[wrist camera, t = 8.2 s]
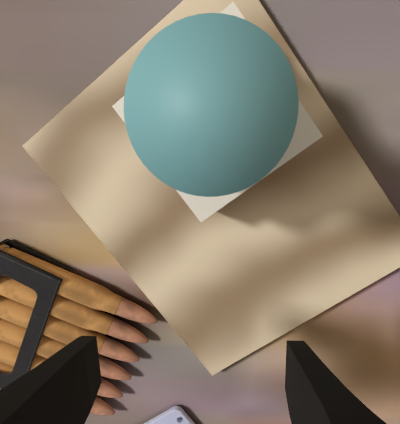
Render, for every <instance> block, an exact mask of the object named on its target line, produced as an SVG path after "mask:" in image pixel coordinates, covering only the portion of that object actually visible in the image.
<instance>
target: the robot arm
mask: <svg viewBox="0 0 400 424" xmlns="http://www.w3.org/2000/svg"><path fill="white" fill-rule="evenodd" d="M101 382H102V380H101V371H100V363H99V355H98V346H97V338H96V336H80V337H78V338H76V339H75V340H73V341H72V342H70V343H69V344H68V345H66V346H65V347H63V348H62V349H60V350H59V351H58V352H56V353H55V354H53V355H52V356H51V357H49V358H48V359H46V360H45V361H43V362H42V363H41V364H39V365H38V366H36V367H35V368H33V369H32V370H30V371H29V372H27V373H26V374H24V375H23V376H21V377H20V378H18V379H17V380H15V381H13V382H12V383H10V384H9V385H7V386H6V387H4V388H3V389H1V390H0V424H84V423H85V421H86V419H87V417H88V415H89V413H90V411H91V409H92V407H93V404H94V401H95V399H96V396H97V393H98V391H99V388H100V385H101ZM285 390H286V396H287V402H288V408H289V414H290V419H291V422H292V424H386V423H385V422H384V421H383V420H381V419H380V418H379V417H378V416H376V415H375V414H374V413H373V412H372V411H371V410H370V409H368V408H367V407H366V406H365V405H364V404H363V403H362V402H361V401H360V400H359V399H358V398H356V397H355V396H354V395H353V394H352V393H351V392H350V391H349V390H348V389H347V388H346V387H345V386H344V385H343V384H342V383H341V382H340V380H339V379H338V378H337V377H336V376H335V375H334V374H333V373H332V372H331V371H330V370H329V369H328V368H327V367H326V365H325V364H324V363H323V362H322V361H321V360H320V359H319V358H318V356H317V355H316V354H315V353H314V352H313V351H312V349H311V348H310V347H309V346H308V345H307V344H306V343H305V342H304V341H287V351H286V379H285ZM179 417H182V418H179ZM144 424H195V423H194V422H193V421H192V420H191V418H190V417H189V416H188V415H187V414H186V413H185V411H184V410H183V409H182V408H181V407H179V406H174V407H172V408H170V409H168V410H167V411H165V412H163V413H161V414H160V415H158V416H156V417H154V418H153V419H151V420H149V421H147V422H146V423H144Z"/></svg>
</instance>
